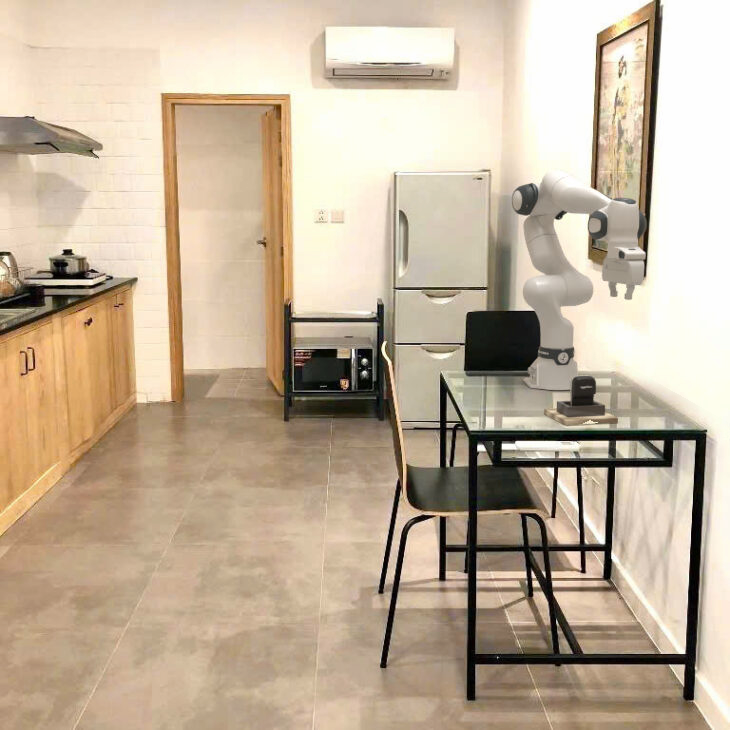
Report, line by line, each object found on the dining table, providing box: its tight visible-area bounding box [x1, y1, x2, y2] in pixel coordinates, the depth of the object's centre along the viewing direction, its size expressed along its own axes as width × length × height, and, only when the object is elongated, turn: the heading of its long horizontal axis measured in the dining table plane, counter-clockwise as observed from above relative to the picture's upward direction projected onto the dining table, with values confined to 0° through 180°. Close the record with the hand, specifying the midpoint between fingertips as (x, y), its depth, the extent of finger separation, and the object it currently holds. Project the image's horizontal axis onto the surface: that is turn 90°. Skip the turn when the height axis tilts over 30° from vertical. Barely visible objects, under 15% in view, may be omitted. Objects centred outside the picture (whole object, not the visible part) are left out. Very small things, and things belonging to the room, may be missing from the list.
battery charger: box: [569, 374, 597, 406], centre depth 264 cm, size 7×4×11 cm, turn 101°
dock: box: [543, 399, 619, 427], centre depth 266 cm, size 16×16×4 cm
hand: (620, 298), depth 275 cm, fingers open, 8 cm apart
